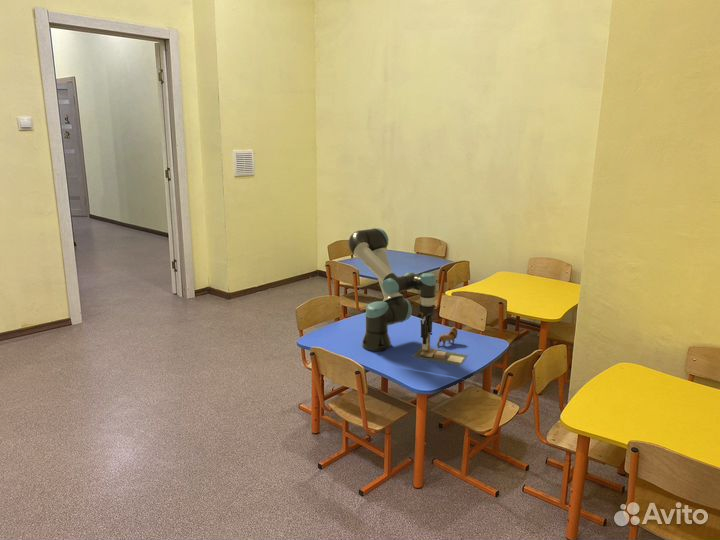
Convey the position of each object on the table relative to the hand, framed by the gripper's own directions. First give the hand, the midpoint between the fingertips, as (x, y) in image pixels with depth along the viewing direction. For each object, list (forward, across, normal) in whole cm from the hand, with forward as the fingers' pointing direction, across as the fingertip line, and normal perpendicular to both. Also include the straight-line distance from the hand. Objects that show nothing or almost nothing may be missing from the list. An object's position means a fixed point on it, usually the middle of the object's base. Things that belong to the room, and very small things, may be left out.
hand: (426, 348), depth 273 cm
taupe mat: (+4, 0, -8) cm, 8 cm away
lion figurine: (+4, +18, -6) cm, 19 cm away
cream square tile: (+3, 0, -8) cm, 8 cm away
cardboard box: (+2, 0, -2) cm, 3 cm away
